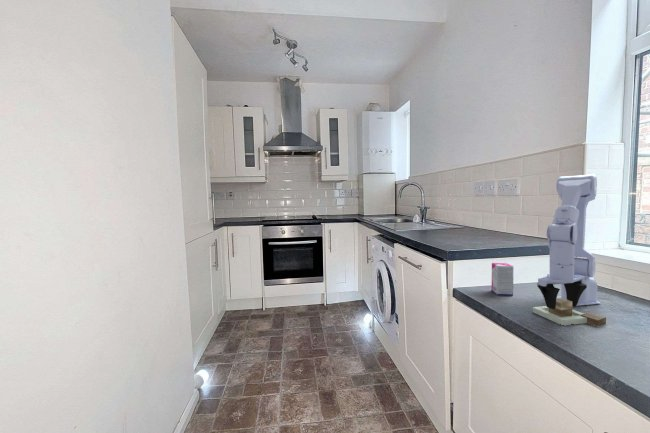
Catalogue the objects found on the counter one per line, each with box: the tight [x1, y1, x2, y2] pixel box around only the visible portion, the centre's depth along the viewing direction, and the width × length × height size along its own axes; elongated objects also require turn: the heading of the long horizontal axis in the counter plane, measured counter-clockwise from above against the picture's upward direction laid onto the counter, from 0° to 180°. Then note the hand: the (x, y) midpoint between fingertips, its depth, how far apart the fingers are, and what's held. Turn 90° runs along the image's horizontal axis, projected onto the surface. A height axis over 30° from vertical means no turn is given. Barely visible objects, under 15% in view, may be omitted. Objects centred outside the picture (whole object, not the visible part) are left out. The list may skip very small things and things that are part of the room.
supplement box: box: [491, 262, 514, 297], centre depth 107 cm, size 6×6×12 cm
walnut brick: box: [581, 311, 607, 327], centre depth 80 cm, size 4×4×2 cm
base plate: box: [532, 305, 588, 326], centre depth 85 cm, size 10×10×2 cm
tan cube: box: [548, 297, 573, 317], centre depth 85 cm, size 4×4×4 cm
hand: (561, 306), depth 85 cm, fingers open, 7 cm apart
